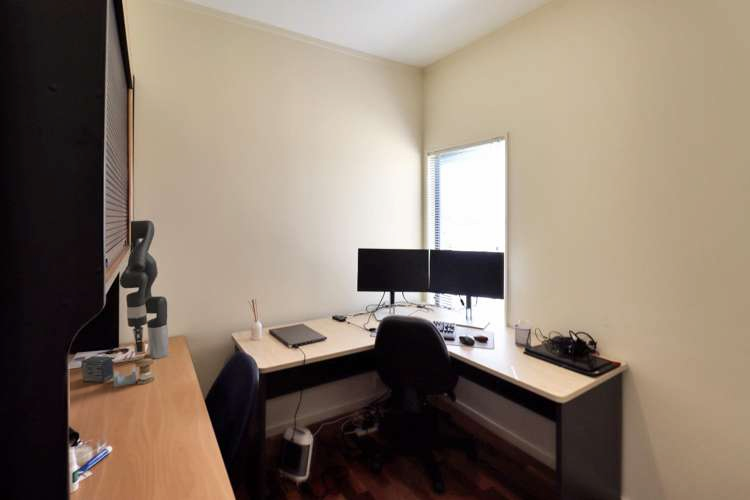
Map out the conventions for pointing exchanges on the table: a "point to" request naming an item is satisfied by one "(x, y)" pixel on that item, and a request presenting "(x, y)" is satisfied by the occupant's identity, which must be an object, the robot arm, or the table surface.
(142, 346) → the tan rectangular block
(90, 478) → the table surface
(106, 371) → the small box
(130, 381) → the grey channel bracket
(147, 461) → the table surface
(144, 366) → the bobbin
